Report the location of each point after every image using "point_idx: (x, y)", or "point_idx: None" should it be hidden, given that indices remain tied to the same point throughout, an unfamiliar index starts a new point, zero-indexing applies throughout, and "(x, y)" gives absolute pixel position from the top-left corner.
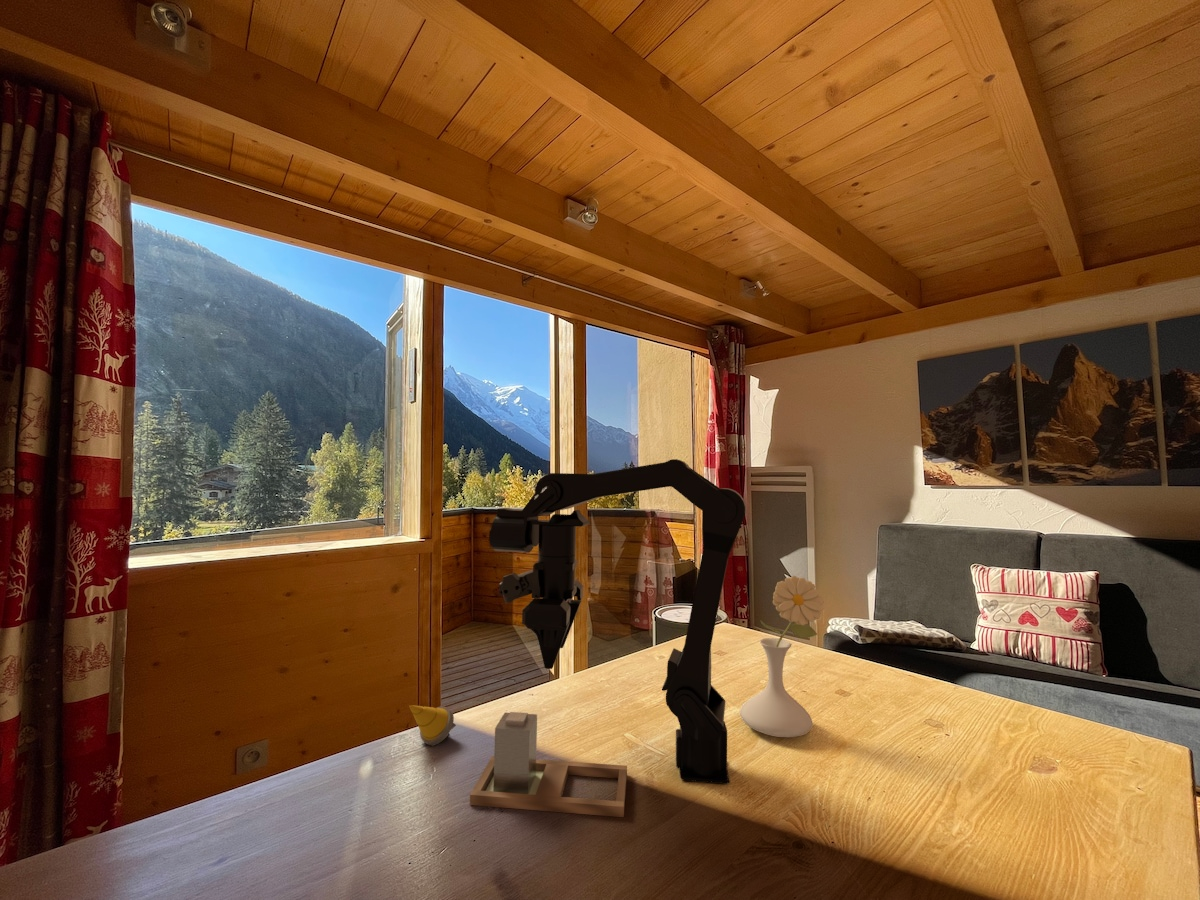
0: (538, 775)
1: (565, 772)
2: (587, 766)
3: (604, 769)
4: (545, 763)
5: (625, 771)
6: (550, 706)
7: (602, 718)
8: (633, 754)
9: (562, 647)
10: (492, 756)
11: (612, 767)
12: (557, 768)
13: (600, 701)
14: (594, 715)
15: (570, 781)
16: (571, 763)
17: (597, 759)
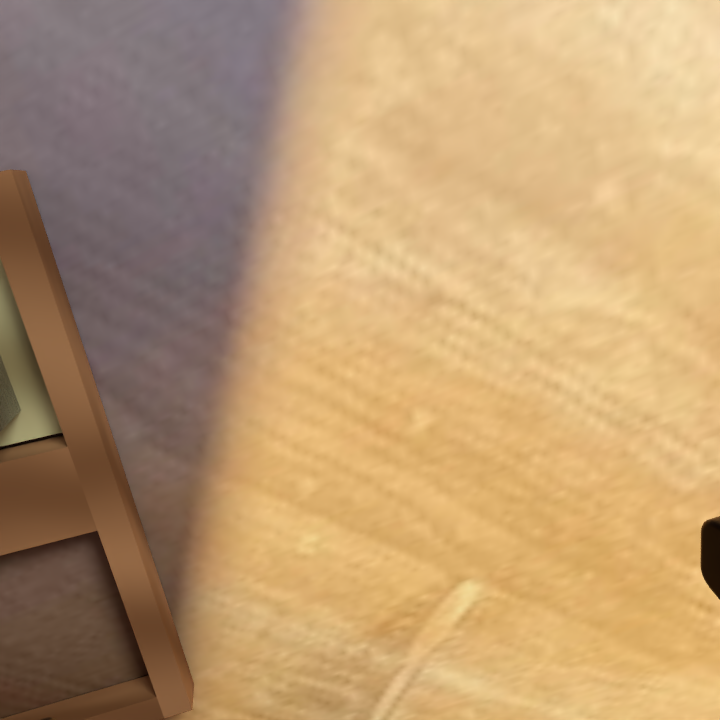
0: (23, 422)
1: (41, 541)
2: (124, 597)
3: (142, 648)
4: (70, 440)
5: (151, 718)
6: (640, 209)
7: (571, 467)
8: (334, 655)
9: (705, 579)
10: (8, 174)
11: (158, 673)
12: (54, 502)
13: (715, 406)
14: (590, 428)
15: None
16: (119, 535)
17: (256, 563)
